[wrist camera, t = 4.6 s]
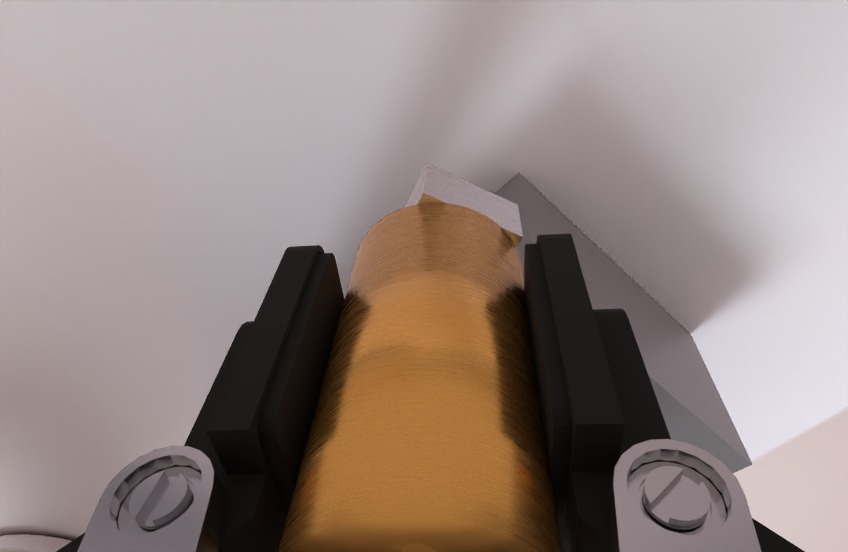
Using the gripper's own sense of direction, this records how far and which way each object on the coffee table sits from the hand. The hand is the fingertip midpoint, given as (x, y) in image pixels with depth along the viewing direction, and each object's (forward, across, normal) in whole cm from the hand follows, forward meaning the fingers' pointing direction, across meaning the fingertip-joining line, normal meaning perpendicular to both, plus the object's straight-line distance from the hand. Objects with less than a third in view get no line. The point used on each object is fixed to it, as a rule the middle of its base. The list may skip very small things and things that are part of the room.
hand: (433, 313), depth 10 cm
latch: (+2, +4, +7) cm, 8 cm away
